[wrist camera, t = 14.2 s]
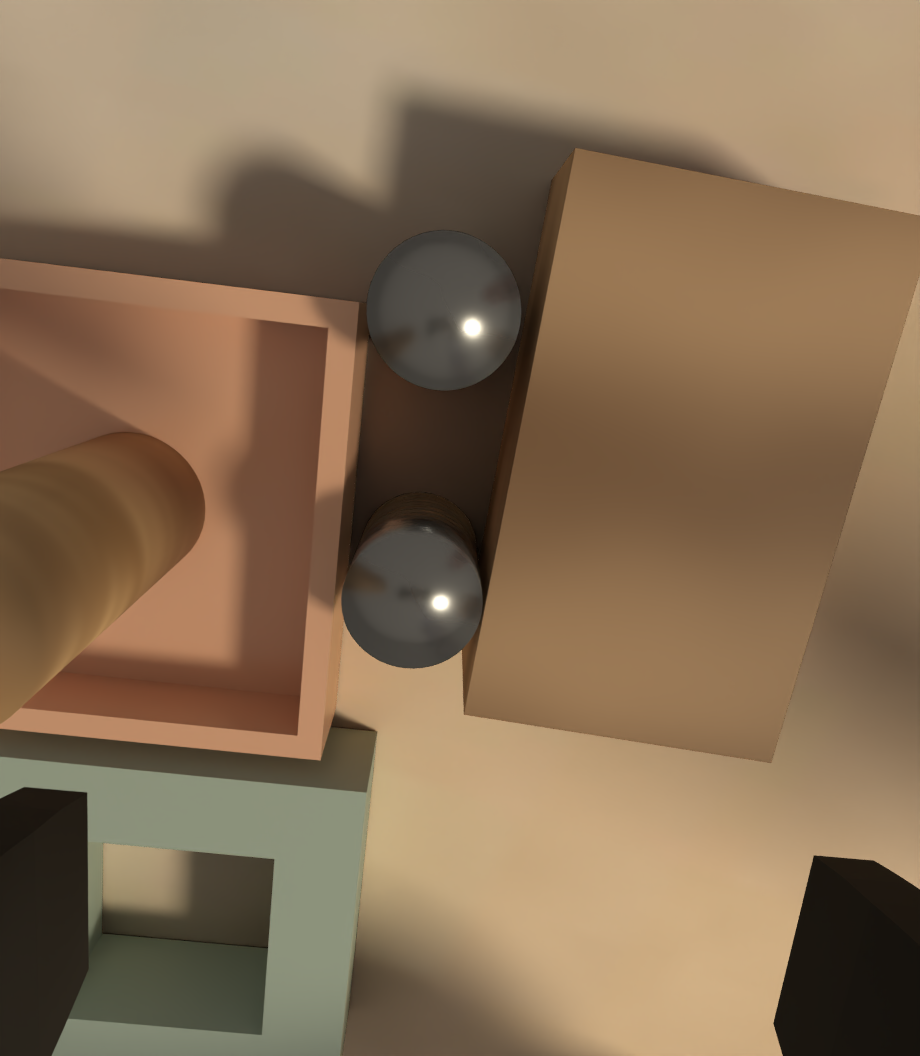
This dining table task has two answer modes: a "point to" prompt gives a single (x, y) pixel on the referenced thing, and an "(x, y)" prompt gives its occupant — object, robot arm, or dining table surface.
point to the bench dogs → (421, 518)
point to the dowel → (85, 548)
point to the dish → (229, 491)
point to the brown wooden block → (681, 451)
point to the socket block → (222, 828)
